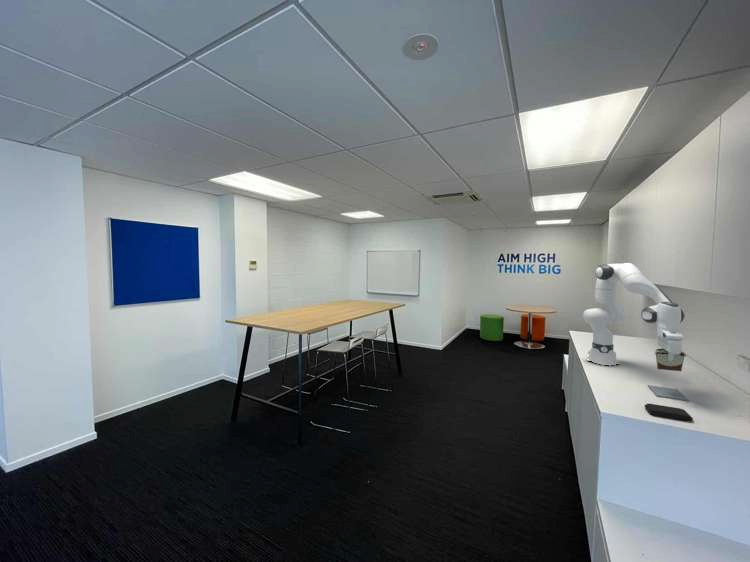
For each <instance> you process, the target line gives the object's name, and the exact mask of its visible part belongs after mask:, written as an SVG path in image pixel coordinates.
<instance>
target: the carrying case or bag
mask: <svg viewBox="0 0 750 562" xmlns="http://www.w3.org/2000/svg"><path fill="white" fill-rule="evenodd" d="M644 408H645V409H646V410H647V412H648V413H649V414H650V415H651V416H654V417H659V418H665V419H669V420H670V419H671V420H677V421H682V422H687V421H690V422H692V421H693V420H694V418H693V417H692V416H691V415H690V413H688V412H687V411H686V410H685V409H684V408H681V407H679V408H678V407H672V406H667V405H659V404H655V403H645V404H644Z"/></svg>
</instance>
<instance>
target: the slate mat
mask: <svg viewBox="0 0 750 562" xmlns="http://www.w3.org/2000/svg"><path fill="white" fill-rule="evenodd" d="M647 388H648V389H649V390H650V391H651V392H652V394H654V395H655V397H657V398H664V399H671V400H676V401H684V402H689V401H690V400H689V398H687V397H686V396H685V395H684V394H683V393H682V392H681V391H679V389H677V388H674V387H673V388H672V387H666V386H665V387H664V386H658V385H650V384H647Z"/></svg>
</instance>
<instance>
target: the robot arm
mask: <svg viewBox="0 0 750 562" xmlns="http://www.w3.org/2000/svg"><path fill="white" fill-rule="evenodd" d="M594 271H595V272H594V274H595V276H596V283H595V289H594V299H595V301H596V302H598V303H599V304H600V306H601V307H594V308H588V309H585V310H584V311H583V313H582V318H583V320H584V321H585V323H586V324H588V325H589V326H590V329H591V331H592V343H591V349H589V350H587V354H588V355H589V357H587V356H586V359H585V361H586V360H587V359H589V360H588V361H592V362H594V363H597V364H596V365H598V364H601V365H600V366H604V365H609V366H608V367H612V366H611V365H615V366H617V365H616V364H619V365H620V363H619V362H618V361H617V353H616V352H615V351H614V350H615V349H614V342H613V341H614V334H613V332H612V331H611V330H610V329H608V328H607V325H610V324H611V325H612V324H613V325H615V324H619V323H622V322H624V319H625V313H624V311H622V310H621V308H619V307H618V305H617V302H616V284H617V282H618V281H620V282H621V285H622V286H623V287H624V288H625V290H626V291H628V292H631V293H633V294H638V295H642V296H646V297H649V298H650V299H652V300H653V301H654V302H655V303H656V304H655V305H651V306H646V307H644V308H643V309H642V310H641V319H642V320H643V321H644V322H645V323H648V324H654V325H655V324H656V325H657V330H656V331H657V332H656V336H657V346H659V347H660V349H664V350H666V351H667V352H668V356H667V359H668V360H670V361H673V357H674V354H675V355H679V354H680V353H681V352H682V347H683V345H682V344H683V342H682V341H684V336H683V334H682V331H681V329H682V328H681V323H682V322H683V321H684V319H685V316H686V315H685V312H684V310H683V309H682V308H681V306H680V304H679V303H675V302H673V301H672V300H671V299H670V298H669V297H668V296H667V295H666V293H664V291H663V290H662V289H661V288H660V287H658V285H655V284H654V283H653V282H651V281H649V280H648V279H647V278H646V277H645V275H644V274H643V273H642V271H641V270H640V269H639V268H638V267H637V266H636V265H635V264H634V263H631V262H625V263H607V264H606V263H604V264H603V263H602V264H600V265H598V266H596V269H595V270H594ZM588 361H587V362H588ZM594 363H593V364H594Z"/></svg>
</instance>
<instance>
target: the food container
mask: <svg viewBox="0 0 750 562" xmlns="http://www.w3.org/2000/svg"><path fill="white" fill-rule="evenodd" d="M653 354H654V355H655V357H656V358H655V360H656V369H657V370H662V371H671V372H672V371H673V372H682V371H683V365H684V360H685V357H687V356H686V355H687V354H686V353H685V352H684V351H681V353H680V354H679V355H675V354H674V357H673V361H670V360H668V359H667V356H668V352H667V351H666V350H664V349H662V348H656V349H655V351H654V352H653Z"/></svg>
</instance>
